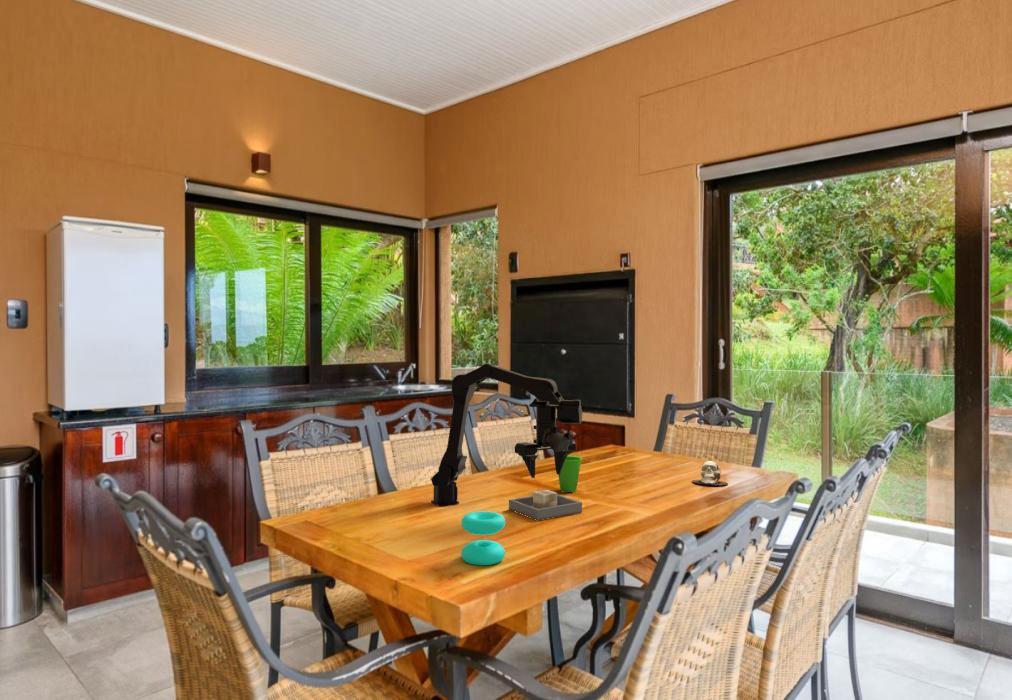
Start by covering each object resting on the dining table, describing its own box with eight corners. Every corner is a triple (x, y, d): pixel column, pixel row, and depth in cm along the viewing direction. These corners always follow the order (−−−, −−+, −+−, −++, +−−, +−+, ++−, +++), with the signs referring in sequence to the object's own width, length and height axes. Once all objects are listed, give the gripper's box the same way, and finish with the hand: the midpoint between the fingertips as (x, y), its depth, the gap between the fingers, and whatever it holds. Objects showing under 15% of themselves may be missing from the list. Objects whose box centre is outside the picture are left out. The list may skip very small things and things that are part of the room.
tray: (537, 521, 177) (537, 510, 177) (508, 509, 188) (509, 499, 188) (581, 512, 186) (582, 502, 186) (551, 502, 197) (551, 492, 197)
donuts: (511, 512, 148) (495, 523, 139) (511, 555, 149) (495, 569, 139) (472, 508, 152) (453, 518, 143) (471, 550, 152) (453, 563, 143)
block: (543, 512, 184) (543, 495, 184) (533, 508, 188) (533, 491, 188) (557, 510, 186) (557, 493, 186) (546, 506, 191) (546, 489, 191)
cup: (587, 491, 213) (587, 457, 213) (570, 495, 206) (571, 461, 206) (565, 486, 219) (566, 454, 219) (549, 491, 212) (549, 457, 212)
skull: (727, 486, 217) (706, 461, 220) (704, 503, 221) (684, 479, 224) (733, 478, 228) (713, 455, 231) (711, 495, 232) (692, 472, 235)
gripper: (536, 428, 175) (536, 485, 175) (588, 423, 185) (588, 477, 185) (513, 423, 184) (513, 478, 184) (564, 419, 195) (564, 470, 195)
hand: (545, 476), depth 187 cm, fingers open, 9 cm apart
